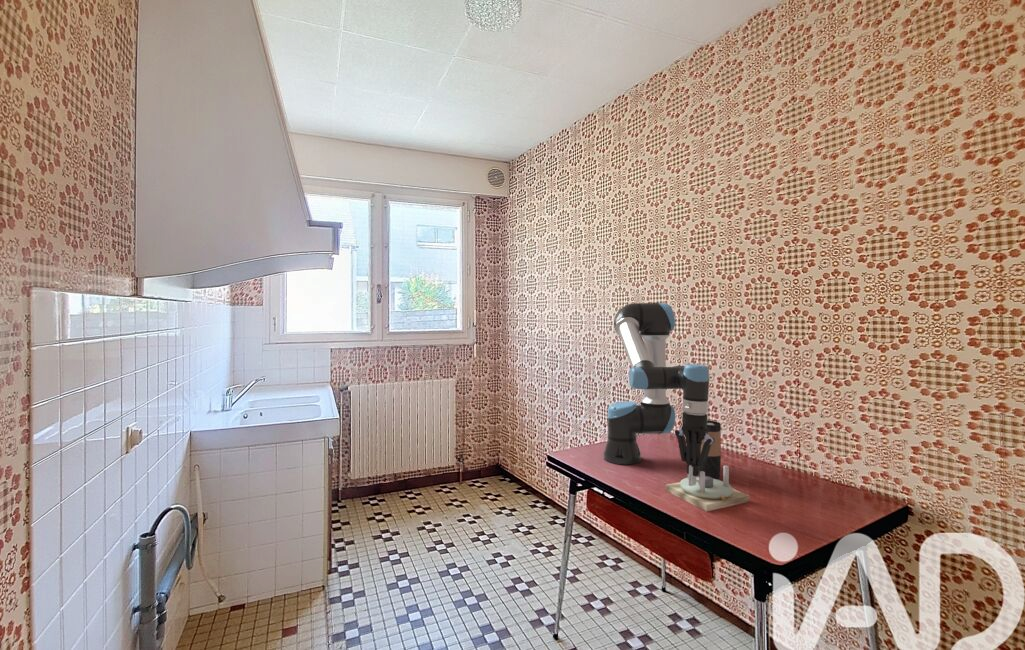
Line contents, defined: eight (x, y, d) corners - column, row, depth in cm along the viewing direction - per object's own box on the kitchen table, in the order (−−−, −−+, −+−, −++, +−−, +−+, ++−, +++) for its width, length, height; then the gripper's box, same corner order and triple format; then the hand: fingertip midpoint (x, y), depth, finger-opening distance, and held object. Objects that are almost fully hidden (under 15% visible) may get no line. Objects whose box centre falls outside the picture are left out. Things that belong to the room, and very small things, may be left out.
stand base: (665, 490, 156) (665, 481, 156) (705, 482, 163) (705, 473, 163) (707, 511, 140) (707, 501, 139) (749, 501, 146) (749, 492, 146)
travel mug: (723, 480, 165) (723, 425, 164) (700, 479, 166) (700, 424, 166) (718, 473, 172) (718, 420, 172) (696, 472, 174) (696, 420, 173)
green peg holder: (675, 492, 149) (675, 469, 149) (686, 477, 163) (686, 455, 162) (729, 502, 140) (729, 478, 140) (735, 486, 154) (735, 463, 154)
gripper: (670, 410, 150) (668, 481, 151) (707, 418, 140) (704, 494, 141) (683, 407, 154) (681, 476, 155) (719, 415, 144) (716, 488, 145)
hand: (692, 484), depth 148 cm, fingers closed
